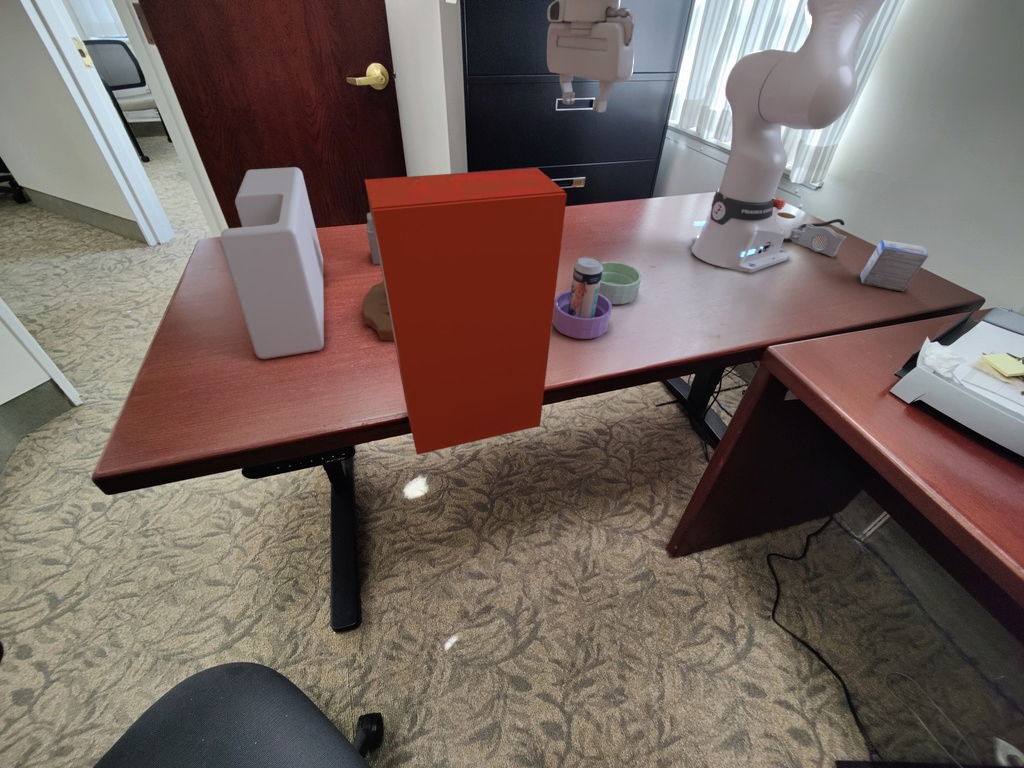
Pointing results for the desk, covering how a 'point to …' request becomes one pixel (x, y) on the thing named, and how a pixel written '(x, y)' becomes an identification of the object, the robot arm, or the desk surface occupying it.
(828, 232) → the grey grilled flat device
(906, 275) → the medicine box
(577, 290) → the white cylindrical canister
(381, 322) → the plant
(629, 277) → the celadon bowl
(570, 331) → the lavender bowl
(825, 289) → the desk surface
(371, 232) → the power adapter
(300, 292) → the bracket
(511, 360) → the red tall rectangular block
